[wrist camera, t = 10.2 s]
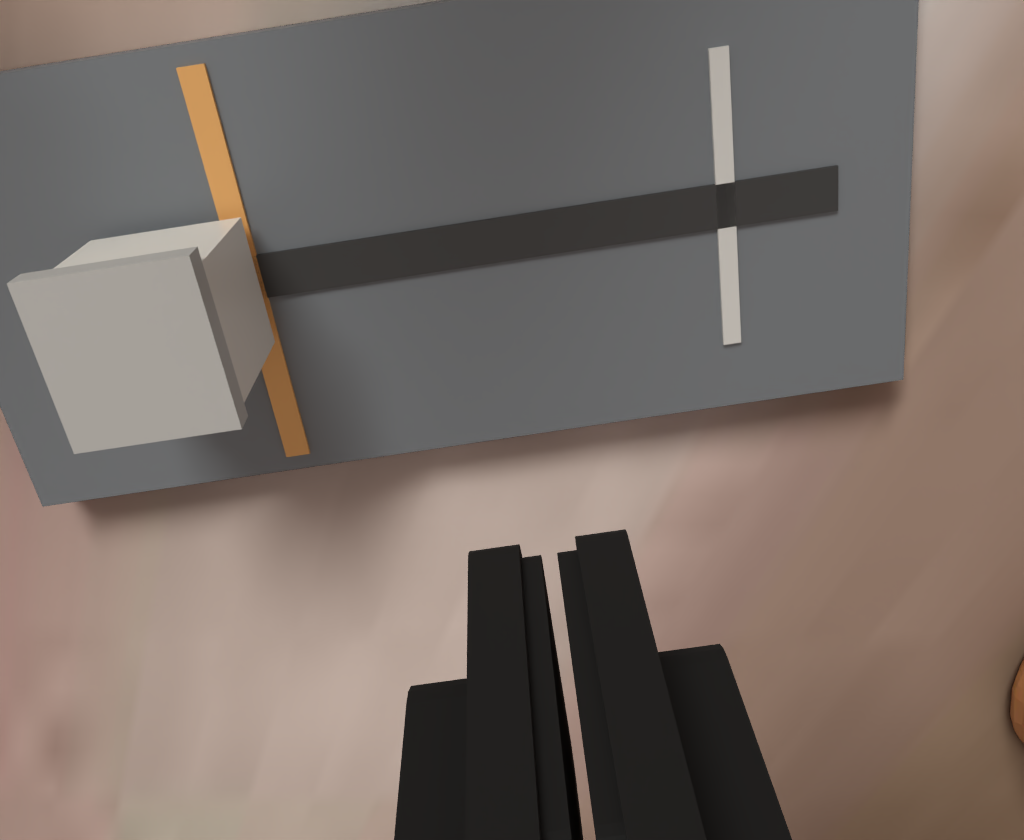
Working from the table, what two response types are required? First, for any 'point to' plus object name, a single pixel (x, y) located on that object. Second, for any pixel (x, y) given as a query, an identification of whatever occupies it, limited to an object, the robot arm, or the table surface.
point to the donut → (1018, 703)
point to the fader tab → (149, 334)
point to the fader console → (486, 217)
